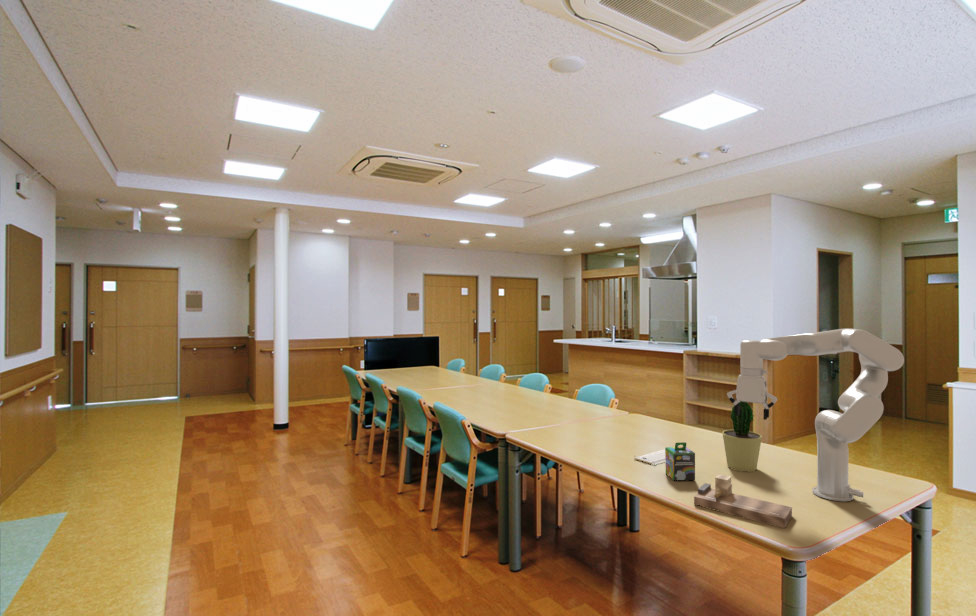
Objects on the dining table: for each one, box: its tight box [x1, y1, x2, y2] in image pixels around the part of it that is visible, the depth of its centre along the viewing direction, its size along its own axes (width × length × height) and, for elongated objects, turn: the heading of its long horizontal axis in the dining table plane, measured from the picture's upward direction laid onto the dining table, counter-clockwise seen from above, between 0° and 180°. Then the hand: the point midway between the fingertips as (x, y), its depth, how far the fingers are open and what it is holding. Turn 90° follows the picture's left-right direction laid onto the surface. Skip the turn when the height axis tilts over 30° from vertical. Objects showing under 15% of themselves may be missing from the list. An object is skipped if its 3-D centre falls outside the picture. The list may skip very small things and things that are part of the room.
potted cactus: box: [722, 401, 763, 473], centre depth 214 cm, size 15×15×30 cm
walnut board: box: [693, 482, 793, 529], centre depth 169 cm, size 28×12×4 cm, turn 49°
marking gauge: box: [714, 473, 733, 500], centre depth 174 cm, size 4×12×8 cm, turn 139°
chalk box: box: [664, 441, 696, 482], centre depth 202 cm, size 9×9×15 cm
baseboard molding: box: [634, 445, 675, 466], centre depth 229 cm, size 31×3×12 cm
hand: (751, 417), depth 187 cm, fingers open, 9 cm apart
